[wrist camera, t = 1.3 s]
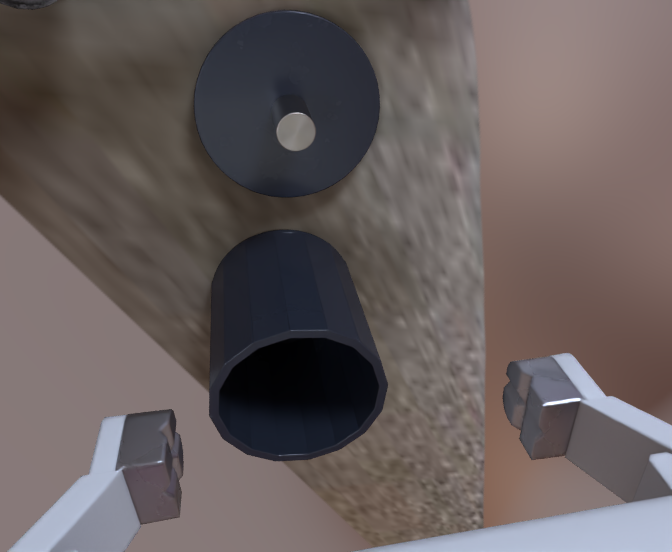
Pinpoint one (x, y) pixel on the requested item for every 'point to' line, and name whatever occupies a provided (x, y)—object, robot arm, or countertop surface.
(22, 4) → the salt shaker
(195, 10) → the countertop surface
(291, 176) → the lid
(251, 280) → the canister
